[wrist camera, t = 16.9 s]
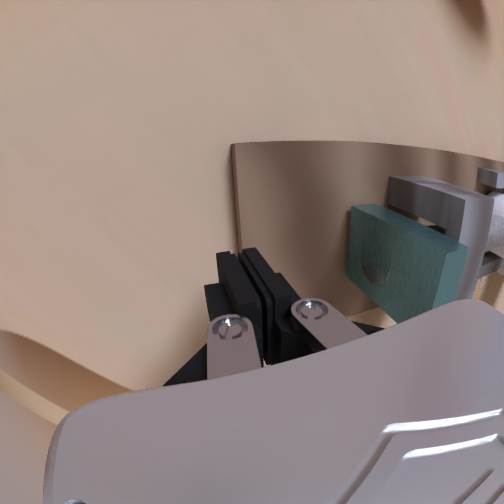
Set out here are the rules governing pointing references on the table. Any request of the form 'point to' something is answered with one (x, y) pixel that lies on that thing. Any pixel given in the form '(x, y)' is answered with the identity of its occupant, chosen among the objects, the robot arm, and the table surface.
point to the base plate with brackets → (356, 193)
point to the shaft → (407, 260)
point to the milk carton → (501, 271)
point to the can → (501, 208)
